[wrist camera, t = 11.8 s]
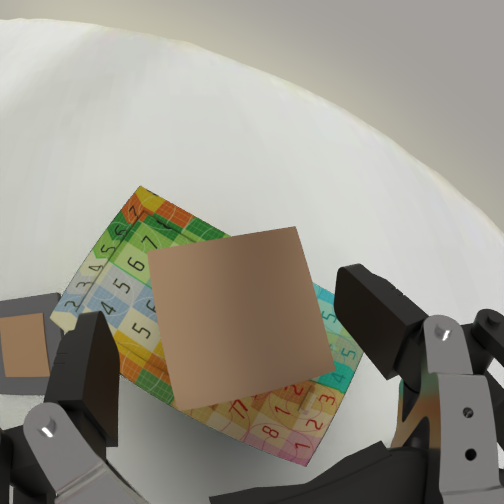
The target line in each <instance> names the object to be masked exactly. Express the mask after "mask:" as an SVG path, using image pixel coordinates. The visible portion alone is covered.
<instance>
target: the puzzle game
mask: <svg viewBox="0 0 504 504" xmlns="http://www.w3.org/2000/svg"><path fill="white" fill-rule="evenodd" d="M226 237H231V236H229V235H228V234H226V233H224V232H222V231H220V230H219V229H217V228H215V227H213V226H211V225H210V224H208V223H206V222H204V221H203V220H201V219H199V218H197V217H195V216H194V215H192V214H190V213H188V212H186V211H185V210H183V209H181V208H179V207H177V206H176V205H174V204H172V203H170V202H169V201H167V200H165V199H163V198H161V197H160V196H158V195H156V194H154V193H152V192H151V191H149V190H147V189H145V188H143V187H142V186H139V188H138V189H137V190H136V191H135V192H134V194H133V195H132V196H131V197H130V199H129V200H128V201H127V202H126V204H125V205H124V206H123V208H122V209H121V210H120V211H119V213H118V214H117V215H116V217H115V218H114V219H113V221H112V222H111V223H110V225H109V226H108V227H107V229H106V230H105V232H104V233H103V234H102V236H101V237H100V239H99V240H98V241H97V243H96V244H95V246H94V247H93V248H92V250H91V251H90V253H89V254H88V256H87V257H86V259H85V260H84V262H83V263H82V265H81V266H80V268H79V269H78V271H77V272H76V274H75V276H74V277H73V279H72V280H71V282H70V283H69V285H68V287H67V288H66V290H65V292H64V293H63V295H62V297H61V298H60V300H59V302H58V303H57V305H56V307H55V308H54V310H53V312H52V314H51V315H50V317H49V318H50V319H51V320H52V321H53V322H54V323H56V324H57V325H58V326H59V327H60V328H61V329H62V330H64V331H65V332H66V333H67V332H68V331H69V330H74V329H75V325H76V322H77V319H78V316H79V314H80V313H87V312H94V311H102V312H103V313H104V315H105V318H106V320H107V323H108V325H109V328H110V330H111V333H112V335H113V338H114V340H115V343H116V345H117V348H118V351H119V356H120V374H121V375H122V376H124V377H125V378H127V379H128V380H130V381H131V382H133V383H134V384H136V385H137V386H139V387H140V388H142V389H143V390H145V391H147V392H148V393H150V394H151V395H153V396H155V397H156V398H158V399H160V400H161V401H163V402H165V403H166V404H168V405H170V406H172V407H173V408H175V409H177V405H176V401H175V398H174V394H173V390H172V386H171V382H170V377H169V373H168V369H167V364H166V360H165V355H164V351H163V346H162V341H161V336H160V331H159V326H158V321H157V315H156V309H155V304H154V298H153V291H152V285H151V278H150V271H149V264H148V256H147V251H151V250H156V249H162V248H168V247H173V246H179V245H185V244H191V243H196V242H202V241H208V240H214V239H220V238H226ZM312 283H313V282H312ZM313 286H314V290H315V293H316V297H317V300H318V304H319V308H320V311H321V315H322V319H323V322H324V326H325V330H326V334H327V338H328V341H329V345H330V349H331V353H332V357H333V361H334V365H335V369H336V371H333V372H330V373H327V374H324V375H321V376H318V377H315V378H312V379H309V380H306V381H303V382H300V383H297V384H293V385H290V386H287V387H283V388H280V389H276V390H273V391H269V392H265V393H262V394H258V395H254V396H250V397H246V398H242V399H237V400H233V401H229V402H224V403H220V404H215V405H210V406H205V407H199V408H194V409H188V410H183V411H180V412H182V413H184V414H186V415H188V416H189V417H191V418H193V419H195V420H197V421H199V422H201V423H203V424H205V425H207V426H209V427H211V428H213V429H215V430H217V431H219V432H221V433H223V434H225V435H227V436H229V437H232V438H234V439H236V440H238V441H241V442H243V443H245V444H247V445H250V446H252V447H255V448H257V449H259V450H262V451H264V452H267V453H269V454H272V455H275V456H277V457H280V458H283V459H286V460H288V461H291V462H294V463H297V464H300V465H303V466H307V464H308V463H309V461H310V459H311V458H312V456H313V454H314V453H315V451H316V449H317V447H318V446H319V444H320V442H321V440H322V438H323V437H324V435H325V433H326V431H327V429H328V427H329V425H330V423H331V422H332V420H333V418H334V416H335V414H336V412H337V410H338V408H339V406H340V404H341V402H342V400H343V398H344V395H345V393H346V391H347V389H348V387H349V385H350V383H351V380H352V378H353V376H354V374H355V371H356V369H357V367H358V365H359V362H360V360H361V357H362V355H363V353H364V351H363V350H362V349H361V348H360V346H359V345H358V344H357V343H356V342H355V340H354V339H353V338H352V337H351V335H350V334H349V333H348V332H347V331H346V329H345V328H344V327H343V326H342V324H341V323H340V322H339V321H338V319H337V318H336V315H335V312H334V306H333V304H334V296H335V295H334V294H332V293H331V292H329V291H327V290H325V289H323V288H322V287H320V286H318V285H316V284H315V283H313ZM177 410H178V409H177Z"/></svg>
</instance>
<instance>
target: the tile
mask: <svg viewBox="0 0 504 504" xmlns="http://www.w3.org/2000/svg"><path fill="white" fill-rule="evenodd" d="M60 298H61V295H60V294H59V293H51V294H44V295H38V296H31V297H25V298H18V299H12V300H5V301H0V394H9V395H45V393H46V389H47V385H48V381H49V377H50V373H51V370H52V366H54V364H53V363H54V359H55V356H57V355H56V352H57V349H58V346H59V343H60V341H61V340H62V338H63V337H64V330H62V329H61V328H60V327H59V326H58V325H57V324H56V323H54V322H53V321H52V320H51V319H50V318H49V317H50V315H51V314H52V312H53V310H54V308H55V307H56V305H57V303H58V302H59V300H60Z"/></svg>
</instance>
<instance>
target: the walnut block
mask: <svg viewBox="0 0 504 504" xmlns="http://www.w3.org/2000/svg"><path fill="white" fill-rule="evenodd" d="M147 256H148V264H149V271H150V278H151V285H152V291H153V298H154V304H155V309H156V315H157V321H158V326H159V331H160V336H161V341H162V346H163V351H164V355H165V360H166V364H167V369H168V373H169V377H170V382H171V386H172V390H173V394H174V398H175V401H176V405H177V409H178V411H183V410H188V409H194V408H199V407H205V406H210V405H215V404H220V403H224V402H229V401H233V400H237V399H242V398H246V397H250V396H254V395H258V394H262V393H265V392H269V391H273V390H276V389H280V388H283V387H287V386H290V385H293V384H297V383H300V382H303V381H306V380H309V379H312V378H315V377H318V376H321V375H324V374H327V373H330V372H333V371H336V369H335V365H334V361H333V357H332V353H331V349H330V345H329V341H328V338H327V334H326V330H325V326H324V322H323V319H322V315H321V311H320V308H319V304H318V300H317V297H316V293H315V290H314V286H313V283H312V279H311V276H310V272H309V269H308V266H307V262H306V259H305V255H304V252H303V249H302V245H301V242H300V239H299V236H298V232H297V229H296V226H294V227H288V228H282V229H275V230H269V231H263V232H257V233H250V234H244V235H238V236H232V237H226V238H220V239H214V240H208V241H202V242H196V243H191V244H185V245H179V246H173V247H168V248H162V249H156V250H151V251H147Z"/></svg>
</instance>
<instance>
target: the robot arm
mask: <svg viewBox="0 0 504 504" xmlns="http://www.w3.org/2000/svg"><path fill="white" fill-rule="evenodd" d="M333 306H334V312H335V315H336V318H337V319H338V321H339V322H340V323H341V324H342V326H343V327H344V328H345V329H346V331H347V332H348V333H349V334H350V335H351V337H352V338H353V339H354V340H355V342H356V343H357V344H358V345H359V346H360V348H361V349H362V350H363V351H364V353H365V354H366V355H367V356H368V358H369V359H370V360H371V361H372V363H373V364H374V365H375V366H376V368H377V369H378V370H379V371H380V373H381V374H382V375H383V376H384V378H385V379H386V380H389V379H391V378H393V377H395V376H397V375H400V377H401V378H402V379H401V381H400V384H399V401H398V416H397V427H396V432H395V435H394V438H393V440H392V443H391V447H390V448H386V447H385V445H384V444H383V442H382V441H379V442H377V443H375V444H373V445H371V446H369V447H367V448H365V449H363V450H360V451H358V452H356V453H354V454H352V455H349V456H347V457H345V458H343V459H342V460H341V461H339V462H338V463H336V464H335V465H334V466H332V467H331V468H329V469H328V470H327V471H325V472H324V473H322V474H321V475H319V476H318V477H316V478H315V479H313V480H311V481H310V482H308V483H305V484H299V485H289V486H276V487H256V488H251V489H247V490H243V491H238V492H233V493H228V494H223V495H218V496H212V497H209V500H210V503H211V504H504V469H500V468H499V466H498V450H497V442H498V444H499V445H500V446H501V448H502V449H503V451H504V389H503V388H502V386H501V385H500V384H499V383H498V382H497V381H496V380H495V379H494V377H493V376H492V375H491V374H490V373H489V372H488V371H487V369H488V367H489V365H490V364H491V362H492V360H493V358H495V359H496V360H497V361H498V362H499V363H500V364H501V365H502V366H503V367H504V316H503V315H502V314H500V313H499V312H497V311H494V310H491V309H482V310H480V311H479V312H478V313H477V315H476V318H475V320H474V322H473V323H471V324H464V325H459V323H458V322H456V321H455V320H454V319H452V318H450V317H447V316H443V315H433V316H428V315H427V314H426V313H425V312H424V311H423V310H422V309H420V308H419V307H418V306H417V305H416V304H415V303H414V302H412V301H411V300H410V299H409V298H408V297H407V296H405V295H404V296H403V293H402V292H401V291H399V290H398V289H396V288H395V286H393V285H392V284H391V283H390V282H389V281H387V280H386V279H384V278H382V277H380V276H377V275H375V274H372V273H371V272H370V271H369V270H368V269H366V268H365V267H364V266H363V265H361V264H354V265H349V266H345V267H341V268H339V269H338V272H337V279H336V287H335V296H334V304H333ZM56 355H57V356H55V359H54V363H53V364H54V366H52V370H51V373H50V377H49V381H48V385H47V389H46V393H45V398H44V402H43V403H42V404H39V405H37V406H35V407H34V408H32V409H31V410H30V411H29V413H28V414H27V416H26V418H25V420H24V424H23V425H21V426H17V427H14V428H10V429H7V430H2V429H1V428H0V504H9V487H10V485H11V486H12V487H14V488H13V504H150V503H149V502H148V501H147V500H146V499H145V498H144V497H143V496H142V495H141V494H140V493H138V492H137V491H136V490H135V489H134V487H133V486H132V485H131V484H130V483H129V482H128V481H127V480H126V479H125V478H124V477H123V476H122V475H121V474H120V473H119V472H118V471H117V469H116V468H115V467H114V466H113V465H112V464H111V463H110V461H109V460H108V459H107V458H106V447H118V397H119V376H120V356H119V351H118V348H117V345H116V343H115V340H114V338H113V335H112V333H111V330H110V328H109V325H108V323H107V320H106V318H105V315H104V313H103V312H102V311H94V312H87V313H80V314H79V316H78V319H77V322H76V325H75V329H74V330H69V331H68V332H67V333H66V334H65V336H64V337H63V338H62V340H61V341H60V343H59V346H58V349H57V352H56ZM56 493H57V496H56Z"/></svg>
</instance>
